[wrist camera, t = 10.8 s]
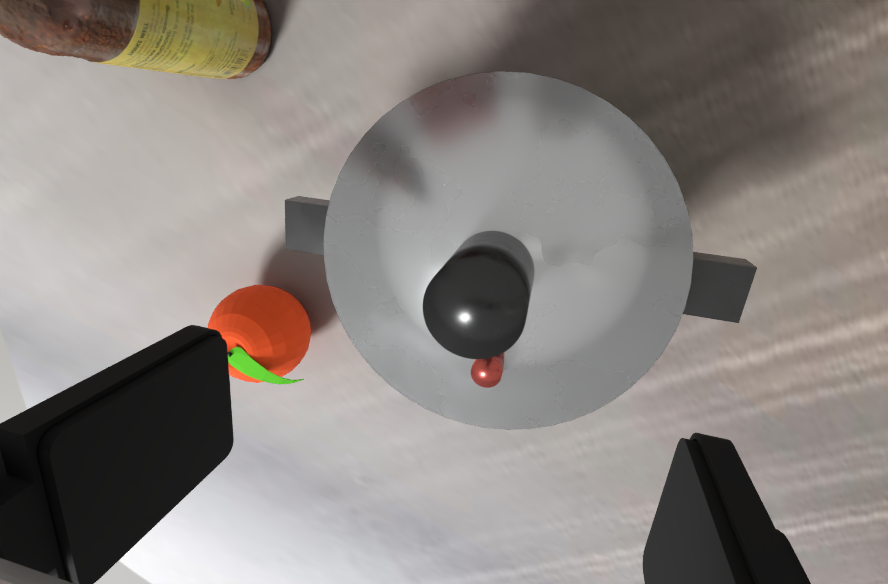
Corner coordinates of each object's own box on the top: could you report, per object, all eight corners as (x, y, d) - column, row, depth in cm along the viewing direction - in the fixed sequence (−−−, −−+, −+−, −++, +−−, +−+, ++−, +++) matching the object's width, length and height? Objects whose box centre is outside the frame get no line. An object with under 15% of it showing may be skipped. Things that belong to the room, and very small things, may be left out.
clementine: (354, 321, 37) (309, 363, 30) (310, 380, 39) (260, 431, 33) (270, 254, 36) (206, 283, 30) (232, 318, 39) (166, 357, 33)
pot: (734, 111, 27) (823, 104, 18) (663, 361, 32) (704, 456, 23) (357, 77, 31) (270, 57, 22) (350, 304, 36) (278, 365, 27)
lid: (719, 70, 18) (791, 45, 12) (656, 436, 23) (686, 537, 18) (322, 77, 21) (235, 59, 16) (344, 395, 27) (285, 468, 21)
